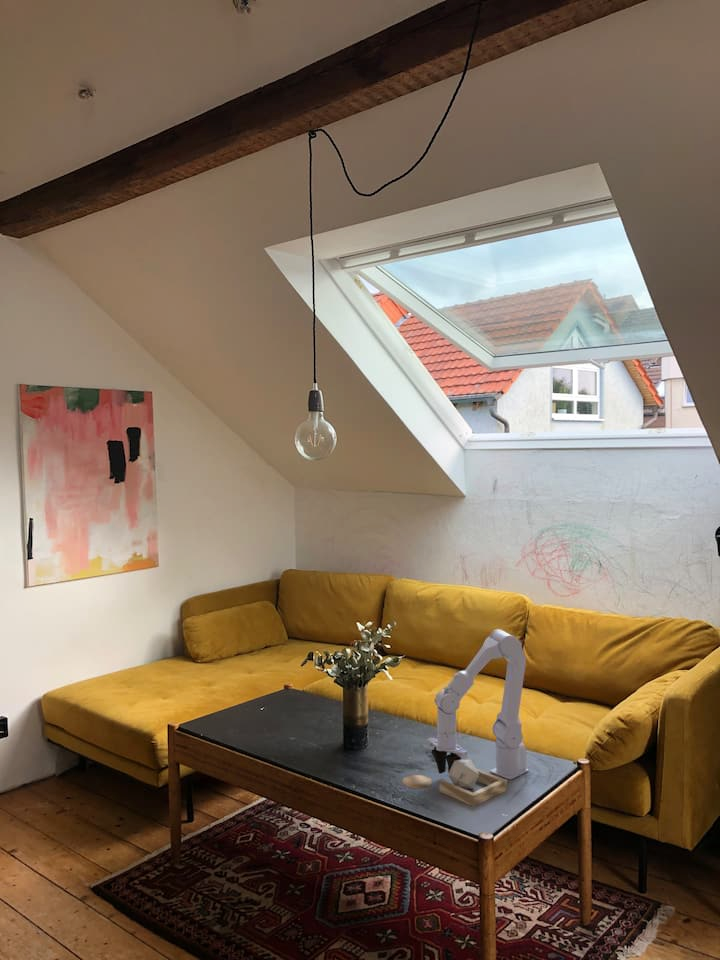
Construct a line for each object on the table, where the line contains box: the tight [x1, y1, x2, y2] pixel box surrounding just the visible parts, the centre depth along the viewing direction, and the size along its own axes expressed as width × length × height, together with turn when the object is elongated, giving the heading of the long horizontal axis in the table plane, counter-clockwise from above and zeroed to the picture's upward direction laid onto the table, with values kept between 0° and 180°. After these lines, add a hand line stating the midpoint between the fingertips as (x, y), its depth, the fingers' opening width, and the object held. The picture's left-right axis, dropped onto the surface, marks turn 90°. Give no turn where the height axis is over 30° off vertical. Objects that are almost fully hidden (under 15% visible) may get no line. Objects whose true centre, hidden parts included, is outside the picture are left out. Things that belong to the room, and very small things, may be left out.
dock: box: [439, 767, 508, 807], centre depth 230 cm, size 15×13×3 cm
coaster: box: [401, 774, 433, 789], centre depth 237 cm, size 9×9×1 cm
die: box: [447, 758, 479, 790], centre depth 232 cm, size 8×9×10 cm
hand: (447, 774), depth 237 cm, fingers open, 4 cm apart
